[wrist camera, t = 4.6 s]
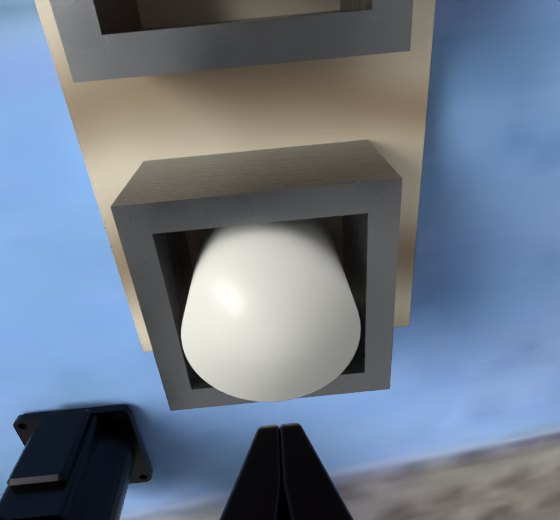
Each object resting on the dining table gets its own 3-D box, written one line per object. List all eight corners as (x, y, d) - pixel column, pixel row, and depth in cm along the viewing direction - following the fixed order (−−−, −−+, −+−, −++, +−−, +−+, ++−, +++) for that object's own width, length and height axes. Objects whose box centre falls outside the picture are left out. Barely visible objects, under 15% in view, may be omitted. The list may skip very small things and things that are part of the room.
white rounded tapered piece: (334, 301, 20) (359, 393, 15) (211, 313, 20) (198, 409, 15) (331, 184, 17) (361, 251, 12) (188, 198, 17) (163, 271, 12)
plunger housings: (364, 318, 21) (389, 388, 17) (185, 336, 21) (170, 410, 17) (376, -348, 11) (446, -550, 7) (28, -317, 11) (-100, -503, 7)
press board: (400, 307, 23) (408, 325, 21) (149, 332, 23) (143, 351, 21) (444, -355, 12) (468, -401, 10) (-39, -313, 12) (-76, -353, 10)
